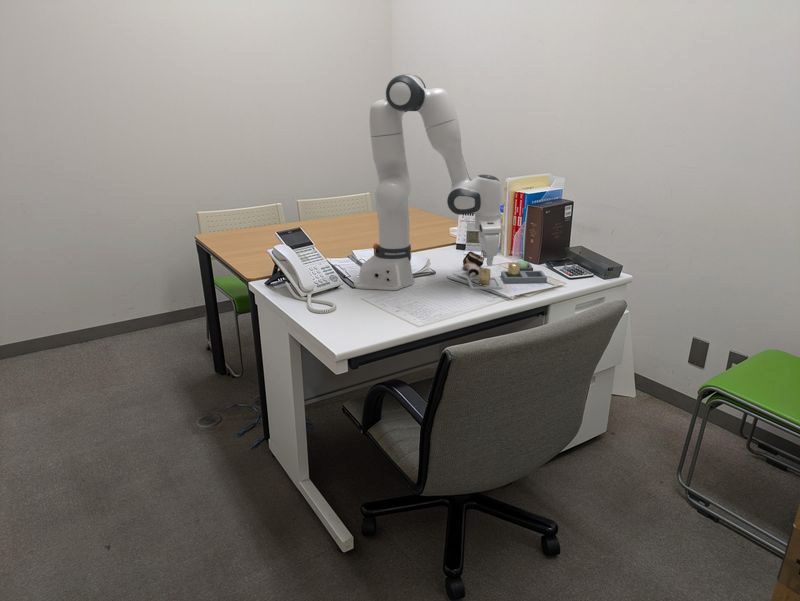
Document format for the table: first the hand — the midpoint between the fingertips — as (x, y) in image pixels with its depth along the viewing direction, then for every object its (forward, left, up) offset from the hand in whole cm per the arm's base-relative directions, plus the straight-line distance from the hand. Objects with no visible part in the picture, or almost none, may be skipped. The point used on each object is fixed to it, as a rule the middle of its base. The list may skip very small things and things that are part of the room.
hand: (487, 261), depth 193 cm
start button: (+15, +12, -8) cm, 21 cm away
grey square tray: (-1, 0, -10) cm, 10 cm away
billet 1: (-1, 0, -9) cm, 9 cm away
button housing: (+15, +12, -10) cm, 22 cm away
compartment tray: (+14, +4, -10) cm, 18 cm away
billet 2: (+10, +4, -9) cm, 14 cm away
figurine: (-3, +14, -10) cm, 17 cm away
